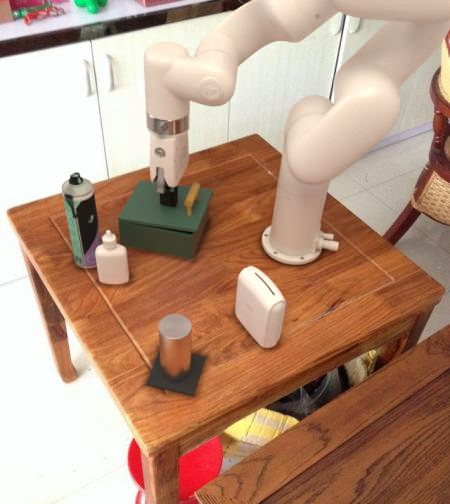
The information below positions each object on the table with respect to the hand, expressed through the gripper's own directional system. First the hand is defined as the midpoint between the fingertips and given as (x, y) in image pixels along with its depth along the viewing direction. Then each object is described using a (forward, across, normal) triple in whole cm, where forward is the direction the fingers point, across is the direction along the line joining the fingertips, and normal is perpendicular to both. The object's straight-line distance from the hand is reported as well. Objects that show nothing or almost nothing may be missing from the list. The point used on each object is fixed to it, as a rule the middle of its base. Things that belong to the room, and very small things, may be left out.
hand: (168, 203), depth 111 cm
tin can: (+8, -33, -11) cm, 36 cm away
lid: (+1, 0, 0) cm, 1 cm away
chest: (+8, 0, +1) cm, 8 cm away
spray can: (+8, -12, +13) cm, 19 cm away
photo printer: (+8, -20, -22) cm, 31 cm away
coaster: (+8, -33, -11) cm, 36 cm away
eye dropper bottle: (+8, -16, +6) cm, 19 cm away
